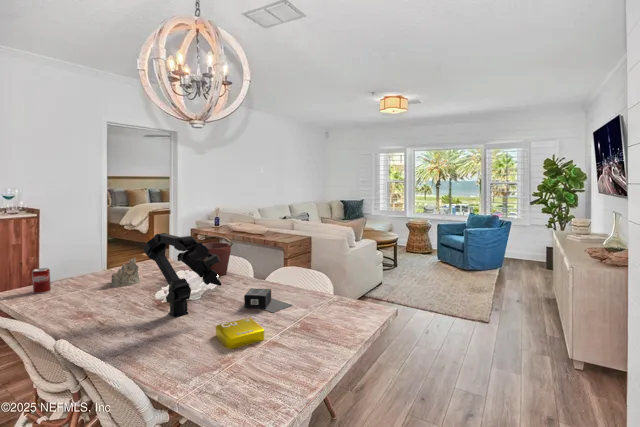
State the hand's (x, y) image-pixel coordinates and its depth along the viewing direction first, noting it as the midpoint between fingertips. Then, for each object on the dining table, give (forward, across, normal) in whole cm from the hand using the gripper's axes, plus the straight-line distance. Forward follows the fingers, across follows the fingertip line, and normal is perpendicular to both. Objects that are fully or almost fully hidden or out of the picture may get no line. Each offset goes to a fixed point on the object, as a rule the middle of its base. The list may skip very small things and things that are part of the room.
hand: (220, 284), depth 157 cm
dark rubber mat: (+26, +1, -8) cm, 28 cm away
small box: (+18, -1, -4) cm, 18 cm away
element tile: (+12, -26, +9) cm, 30 cm away
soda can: (-45, +72, +65) cm, 107 cm away
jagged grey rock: (-18, +73, +37) cm, 84 cm away
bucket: (+16, +69, +2) cm, 71 cm away
